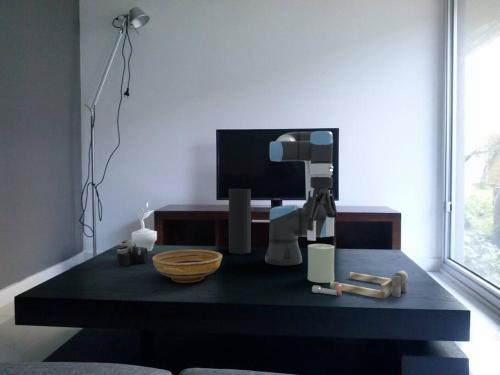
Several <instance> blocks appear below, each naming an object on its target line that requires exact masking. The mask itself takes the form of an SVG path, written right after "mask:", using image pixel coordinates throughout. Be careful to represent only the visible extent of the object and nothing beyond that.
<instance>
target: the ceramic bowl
mask: <svg viewBox="0 0 500 375" xmlns="http://www.w3.org/2000/svg"><path fill="white" fill-rule="evenodd" d="M222 259H223V254H222V253H220V252H218V251H214V250H209V249H178V250H169V251H164V252H160V253H157V254H155V255H154V256H152V258H151V260H152V261H153V262H152V263H153V265H154V268H155V270H156V271H157V272H158V273H160V274H161V275H163V276H165V277H167V278H170V279H171V280H172V281H173V282H175V283H183V284H184V283H195V282H200V281H202V280H204V278H205V277H206V276H209V275H211V274H212V273H214V272H215V271H216V270H218V269H219V267H220V265H221V262H222Z"/></svg>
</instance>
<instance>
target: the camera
mask: <svg viewBox="0 0 500 375" xmlns="http://www.w3.org/2000/svg"><path fill="white" fill-rule="evenodd" d="M116 247H117V250H116V251H117V254H116V266H117V268H118V269H119V268H120V269H123V268H127V267H129V266H130V265H133V264H146V263H147V261H148V256H149V255H148V252H149V251H147V248H144V247H136V244H135V242H133V241H132V239H131V240H130V239H129V240H128V239H124V240H122V242H121V244H120V245H119V244H118V245H117V246H116Z"/></svg>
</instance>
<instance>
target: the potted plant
mask: <svg viewBox="0 0 500 375" xmlns="http://www.w3.org/2000/svg"><path fill="white" fill-rule="evenodd" d="M145 206H146V208H147V209H148V207H149V203H148V201H146V204H145ZM153 212H155V209H154V210H149V209H148V211H146V212H145V209H144V208H143V207H142V206H140V205H139V206H137V207H136V209H135V214H136V215H137V218H138V220H139V221H140V223H139V224H140V226H141V228H140V229H138V230H136V231H132V232H131V240H132V241H133V242H135V244H136V247H144V248H147V251H148V252H150V251H153V248H154V245H155V242H156V241H157V240H158V234H157V233H158V231H156V230H151V229H150V228H146V227H145V221H144V220H145V219H147V218H148V217H149V216H150V215H151V214H152V213H153Z"/></svg>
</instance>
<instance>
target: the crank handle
mask: <svg viewBox="0 0 500 375" xmlns="http://www.w3.org/2000/svg"><path fill="white" fill-rule="evenodd" d="M311 292H312V293H318V294H328V295H332V296H333V295H335V296H337V297H338V296H339V297H340V296H342V295H343V294H342V292H343V291H342V285H340V284H337V285H336V289H331V288H325V287H321V285H316V284H315V285H313V286H312V287H311Z"/></svg>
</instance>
